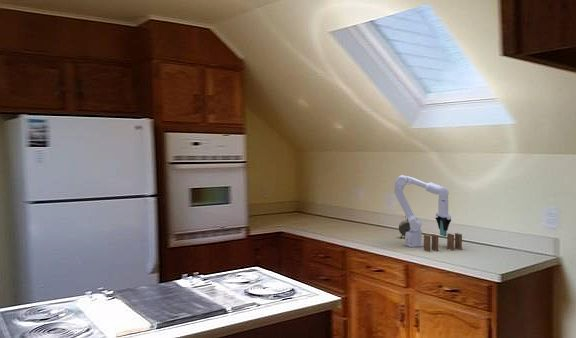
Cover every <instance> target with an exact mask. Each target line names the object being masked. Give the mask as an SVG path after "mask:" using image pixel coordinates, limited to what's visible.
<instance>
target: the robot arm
mask: <svg viewBox="0 0 576 338" xmlns="http://www.w3.org/2000/svg"><path fill="white" fill-rule="evenodd" d="M406 185H414V186H415V185H416V186H418V187H421V188H424V189H425V191H426V192H429V193H431V194H433V195H436V196H437V195H438V210H437V211H438V212H437V213H435V217H434V218H435V220H436V223H437V227H438V230H440V220H442V223H443V230H444V231H449V226H450V223H451V222H452V216H451V215H450V214H449V190H448V188H447V187H445V186H443V185H441V184H440V185H439V184H436V183H435V181H434V182H433V181H431V182H428V183H427V182H425V181H422V180H420V179H417V178H415V177H412V176H408V175H405V174H401V175H399V176H397V178H396V179H395V182H394V188H393V193H394V195H395V197H396V199H397V201H398V202H399V205H400V207H401V208H402V211H403V212H404V215H405V216H406V218H408V221H409V223H410V231H409V232H406V233H405V236H404V246H407V247H409V248H416V247H417V248H418V247H419V248H420V247H424V244H423V242H422V239H423V238H422V235H423V234H422V233H423V231H422V230H421V227H422V222H421V221H420V220H419V219H418V218H417V216H416V215H415V213H414V211H413V210H412V208H411V205H410V204H409V202H408V199H407V197H406V196H405V194H404V188H405V186H406Z"/></svg>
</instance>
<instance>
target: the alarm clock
mask: <svg viewBox="0 0 576 338" xmlns="http://www.w3.org/2000/svg"><path fill="white" fill-rule="evenodd" d="M398 231H399V234H401V235H400V239H401V238H402V237H405V233H406V232H409V231H410V223H409V221H408V218H407V216H406V215H405V219H403V220H402V221H401V222H400V223H399V225H398Z"/></svg>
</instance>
